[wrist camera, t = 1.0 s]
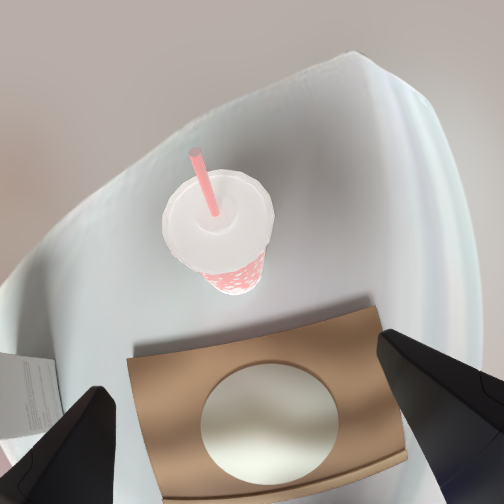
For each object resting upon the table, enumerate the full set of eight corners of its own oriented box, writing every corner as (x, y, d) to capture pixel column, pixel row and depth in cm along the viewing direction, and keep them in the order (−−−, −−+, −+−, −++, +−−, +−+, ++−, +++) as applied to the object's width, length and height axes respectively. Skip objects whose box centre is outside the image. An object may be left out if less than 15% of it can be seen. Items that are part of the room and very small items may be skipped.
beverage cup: (253, 316, 21) (231, 252, 8) (185, 285, 23) (94, 195, 10) (283, 249, 23) (299, 121, 10) (218, 223, 24) (174, 94, 11)
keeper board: (400, 456, 16) (408, 460, 15) (171, 503, 15) (165, 510, 14) (370, 308, 21) (376, 304, 20) (132, 358, 20) (124, 358, 19)
